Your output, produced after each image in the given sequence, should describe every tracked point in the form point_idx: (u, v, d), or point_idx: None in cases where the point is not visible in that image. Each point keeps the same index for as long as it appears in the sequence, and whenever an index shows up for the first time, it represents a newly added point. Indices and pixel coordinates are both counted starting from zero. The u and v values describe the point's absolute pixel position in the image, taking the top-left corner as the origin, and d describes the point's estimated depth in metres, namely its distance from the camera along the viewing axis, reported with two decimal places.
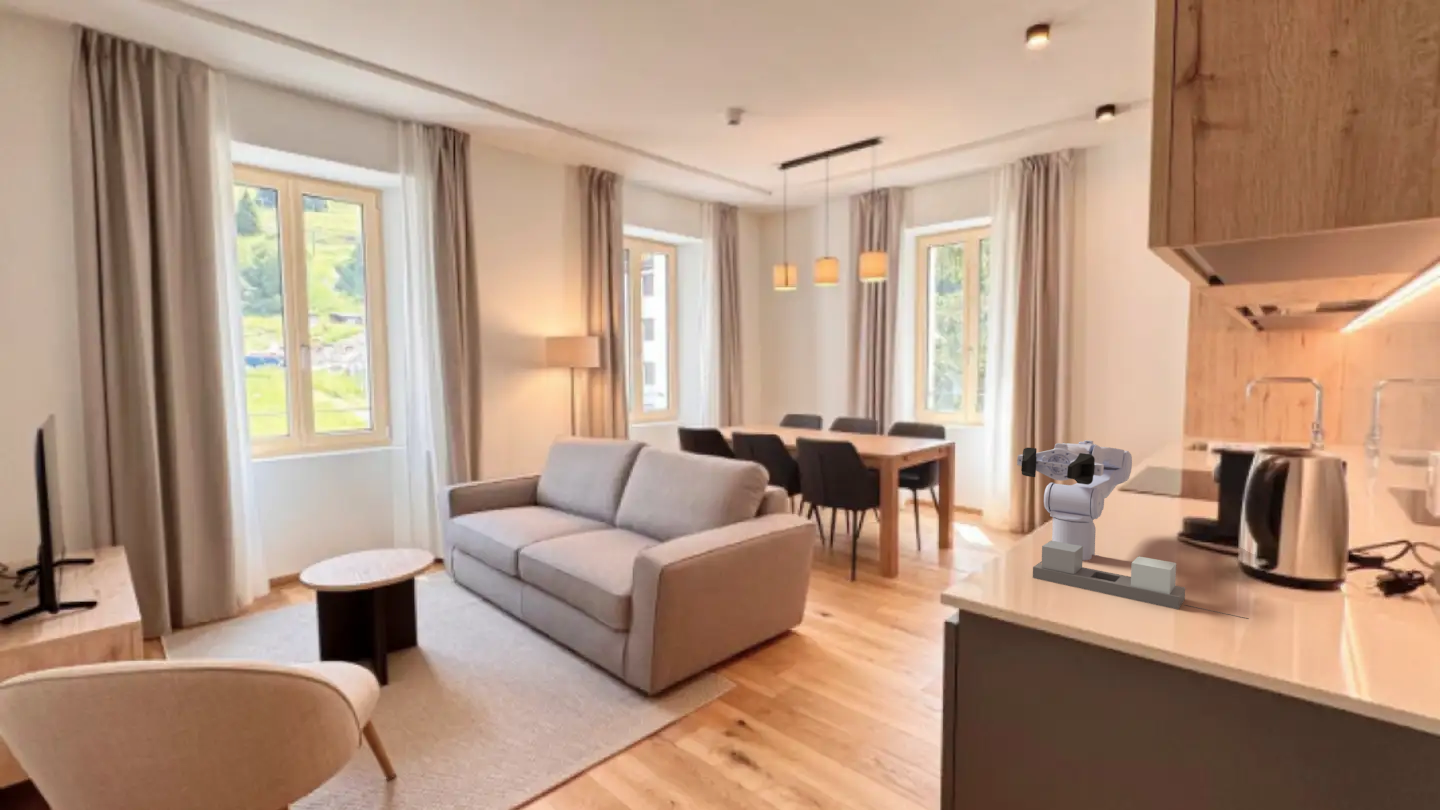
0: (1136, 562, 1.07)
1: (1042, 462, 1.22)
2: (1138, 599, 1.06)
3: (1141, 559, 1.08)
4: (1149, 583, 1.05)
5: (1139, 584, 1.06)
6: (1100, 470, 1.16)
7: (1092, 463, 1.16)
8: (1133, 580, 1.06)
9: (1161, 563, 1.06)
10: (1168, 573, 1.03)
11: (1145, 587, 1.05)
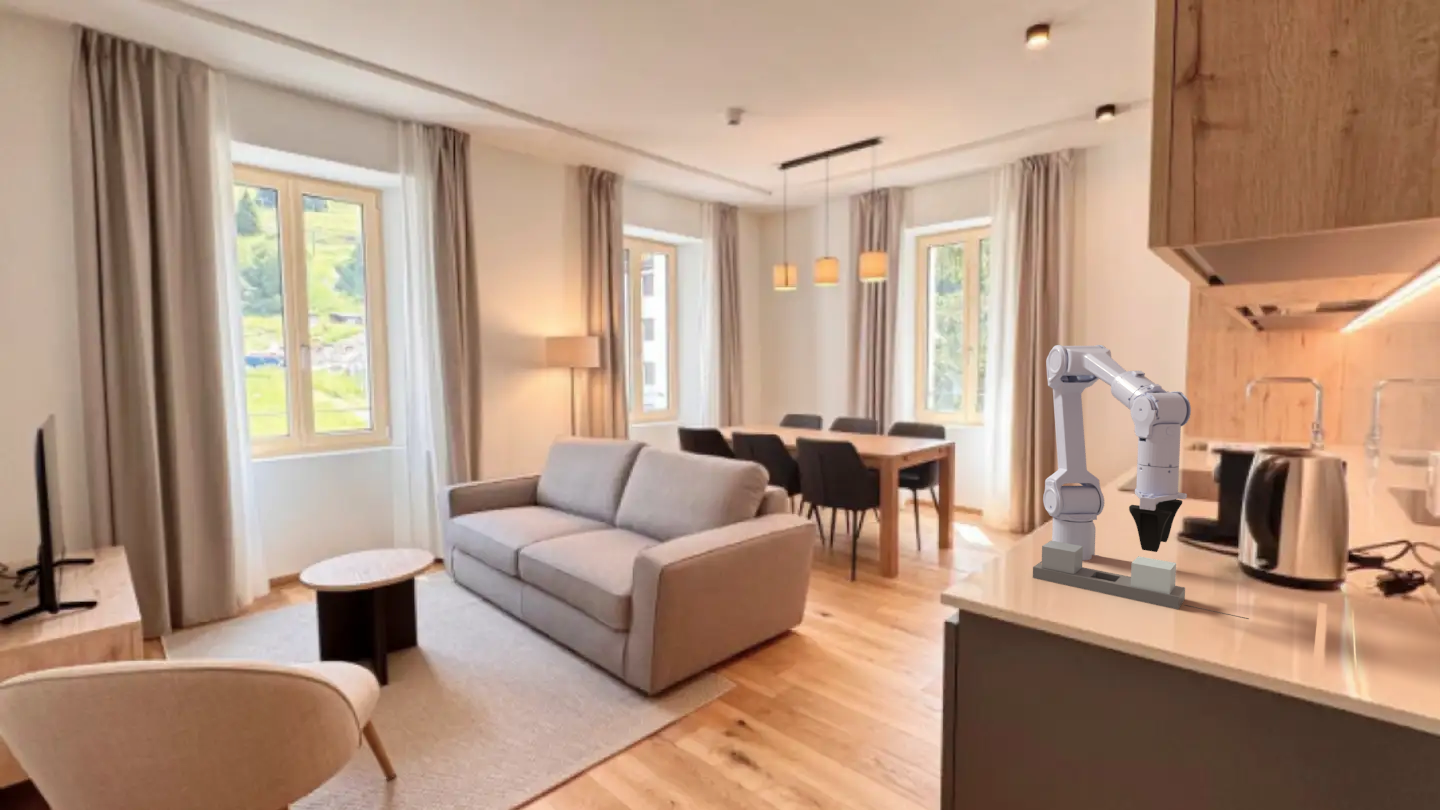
0: (1136, 562, 1.07)
1: None
2: (1138, 599, 1.06)
3: (1141, 559, 1.08)
4: (1149, 583, 1.05)
5: (1139, 584, 1.06)
6: None
7: None
8: (1133, 580, 1.06)
9: (1161, 563, 1.06)
10: (1168, 573, 1.03)
11: (1145, 587, 1.05)
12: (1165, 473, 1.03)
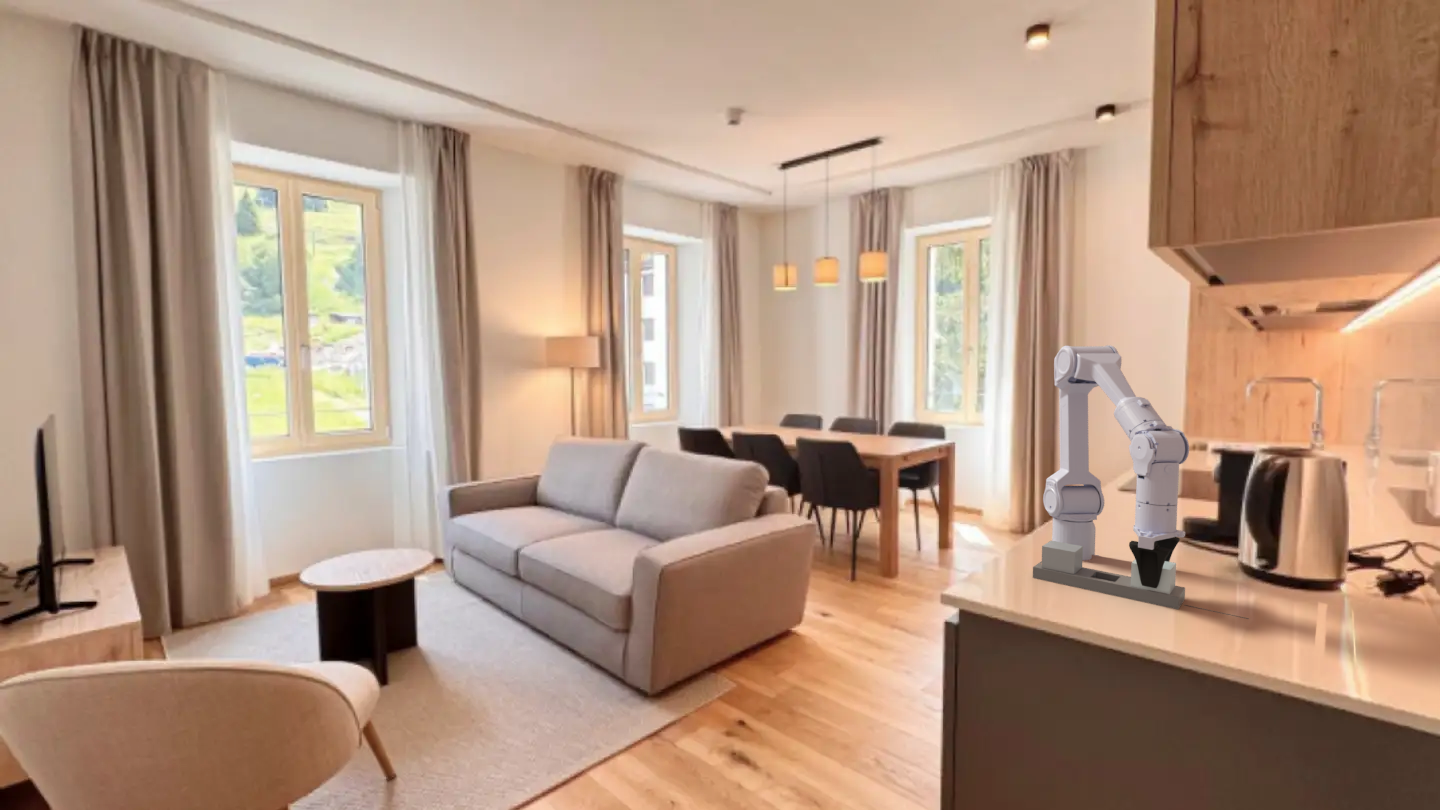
0: (1136, 562, 1.07)
1: None
2: (1138, 599, 1.06)
3: None
4: None
5: (1139, 584, 1.06)
6: None
7: None
8: (1133, 580, 1.06)
9: None
10: (1168, 573, 1.03)
11: (1145, 587, 1.05)
12: (1163, 511, 1.03)
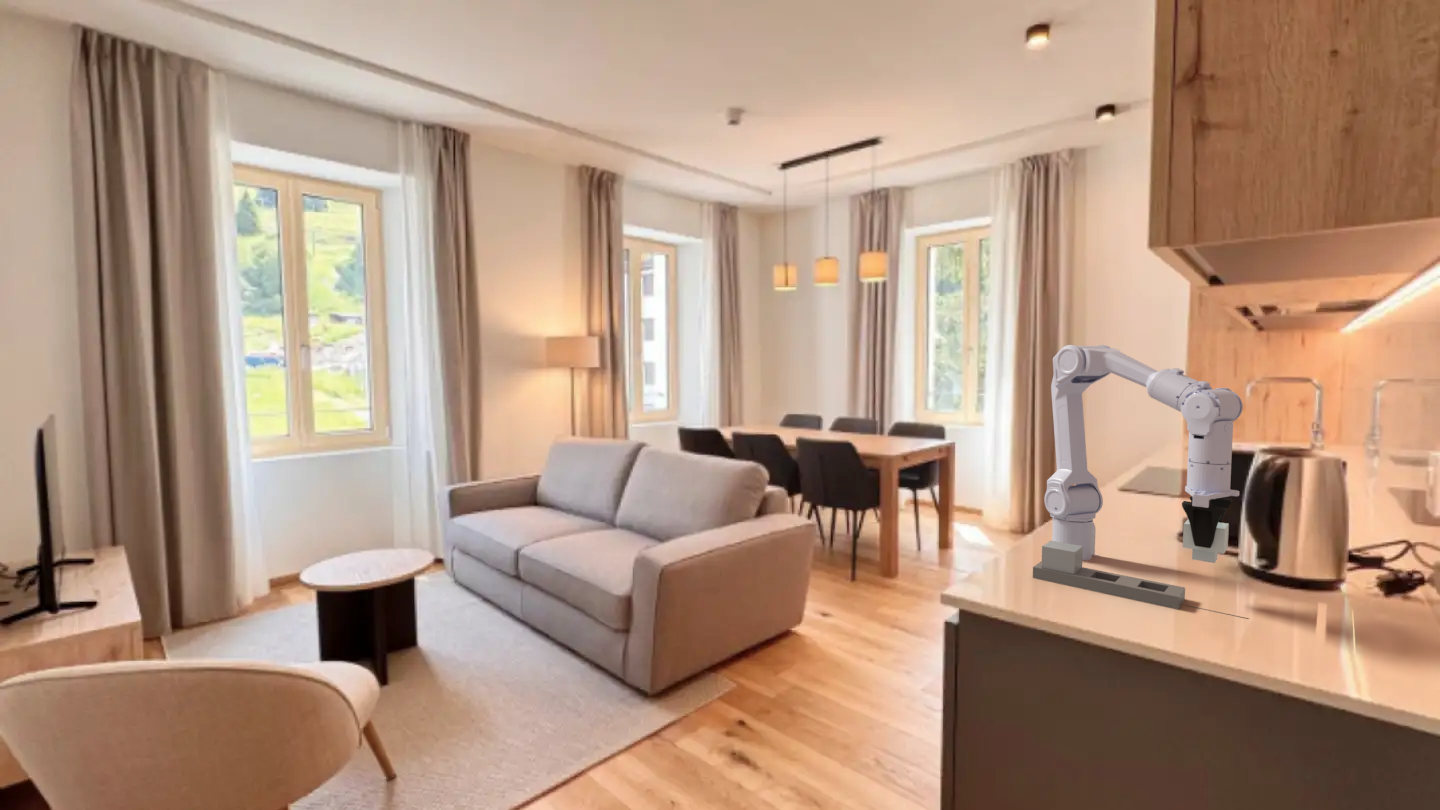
0: (1188, 523, 1.06)
1: None
2: (1138, 599, 1.06)
3: None
4: None
5: (1192, 545, 1.05)
6: None
7: None
8: (1185, 541, 1.06)
9: None
10: (1223, 532, 1.02)
11: (1198, 547, 1.04)
12: (1218, 470, 1.02)
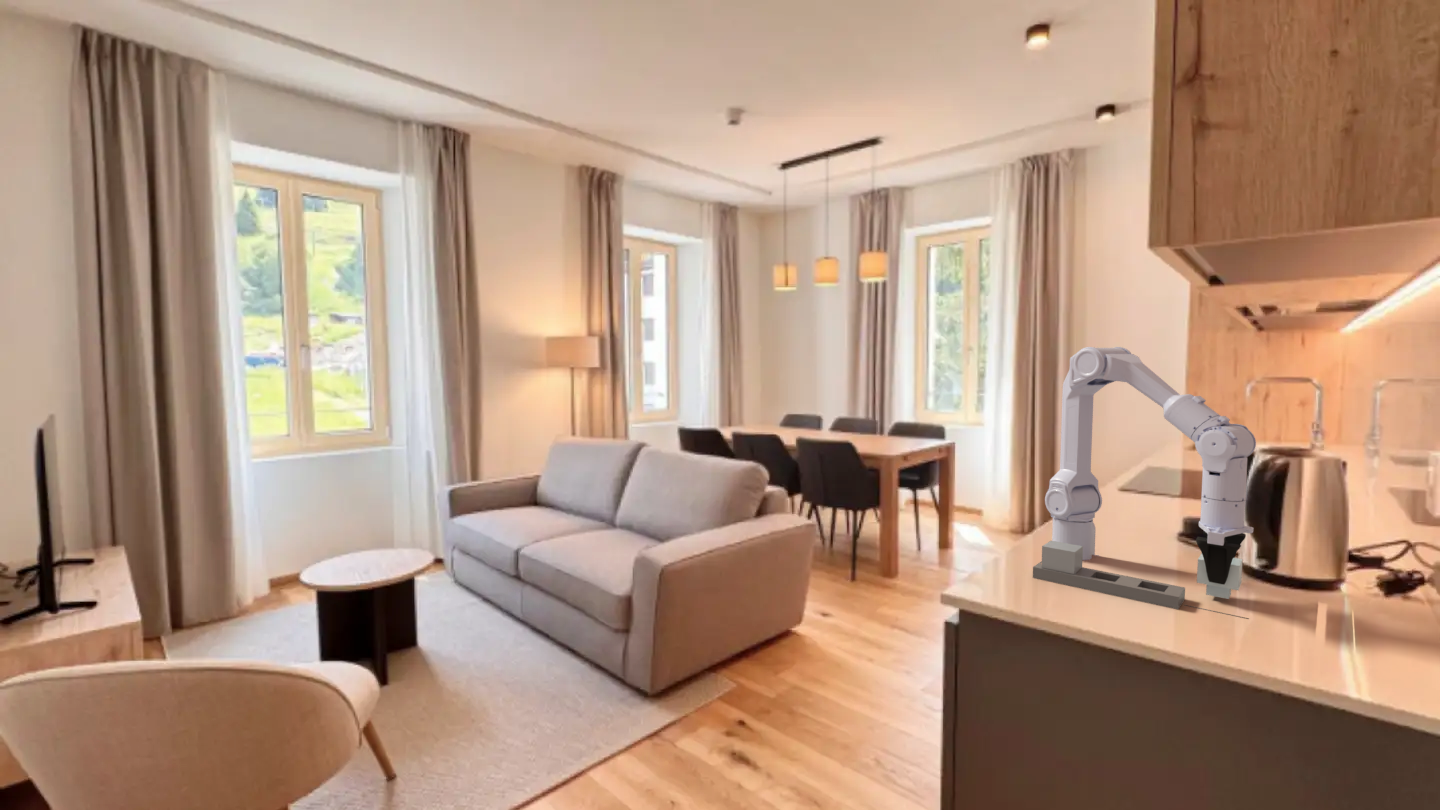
0: (1202, 558, 1.06)
1: None
2: (1138, 599, 1.06)
3: None
4: None
5: (1206, 581, 1.05)
6: None
7: None
8: (1199, 576, 1.06)
9: None
10: (1237, 569, 1.02)
11: (1212, 583, 1.05)
12: (1232, 507, 1.02)
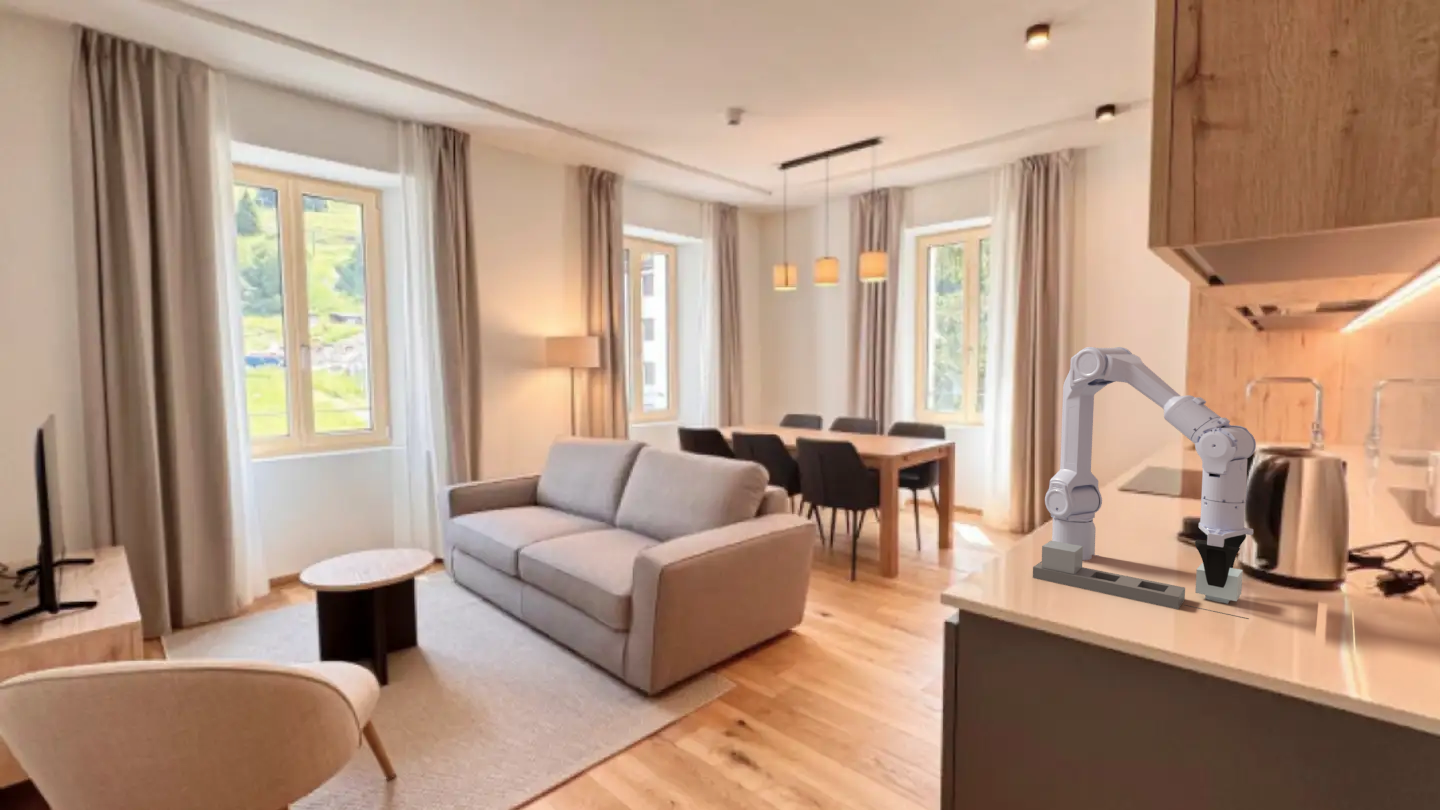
0: (1201, 568, 1.06)
1: None
2: (1138, 599, 1.06)
3: None
4: (1215, 590, 1.04)
5: (1205, 591, 1.06)
6: None
7: None
8: (1198, 587, 1.06)
9: None
10: (1236, 580, 1.02)
11: (1211, 594, 1.05)
12: (1232, 509, 1.02)
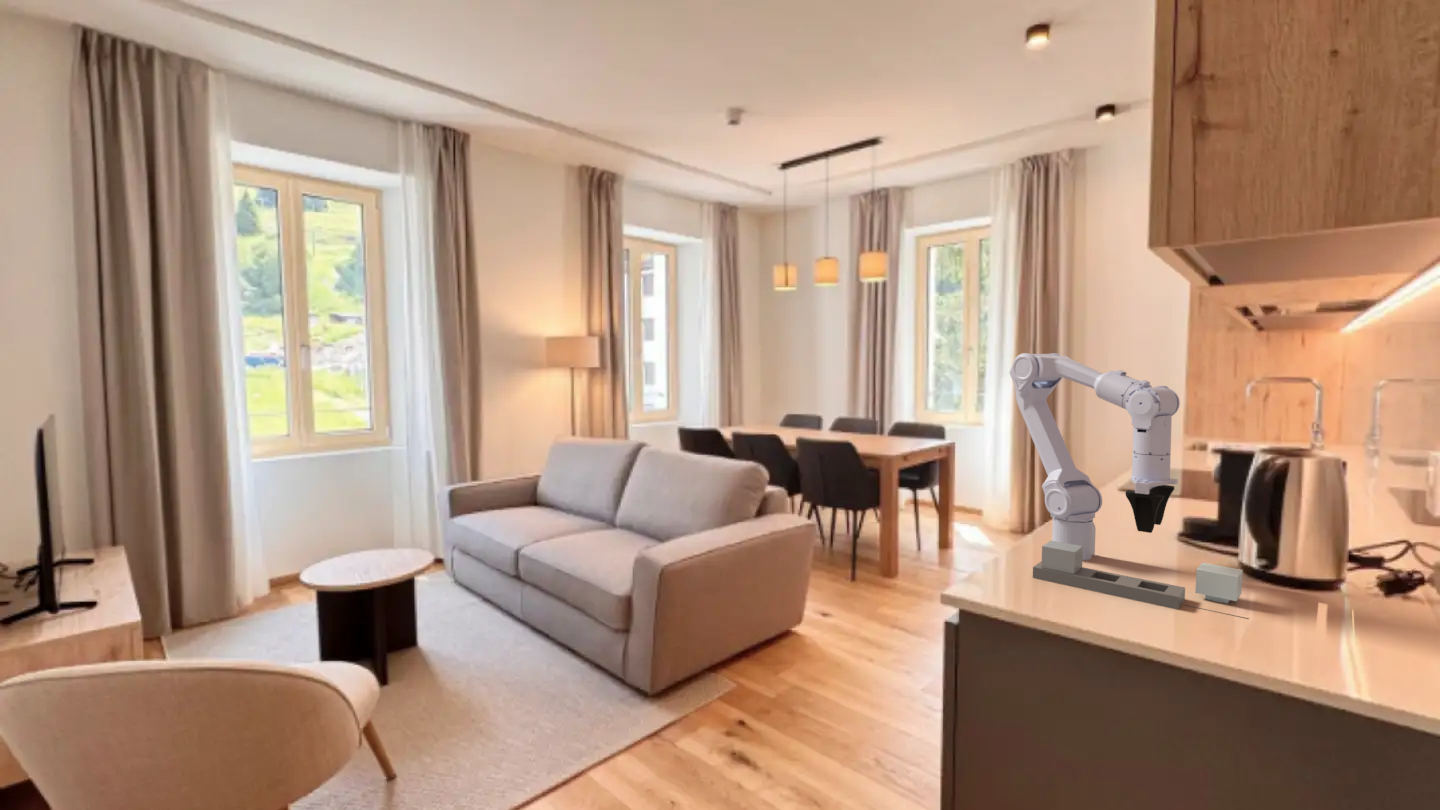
0: (1201, 568, 1.06)
1: None
2: (1138, 599, 1.06)
3: (1206, 566, 1.08)
4: (1215, 590, 1.04)
5: (1205, 591, 1.06)
6: None
7: None
8: (1198, 587, 1.06)
9: (1227, 570, 1.06)
10: (1236, 580, 1.02)
11: (1211, 594, 1.05)
12: (1158, 460, 1.12)
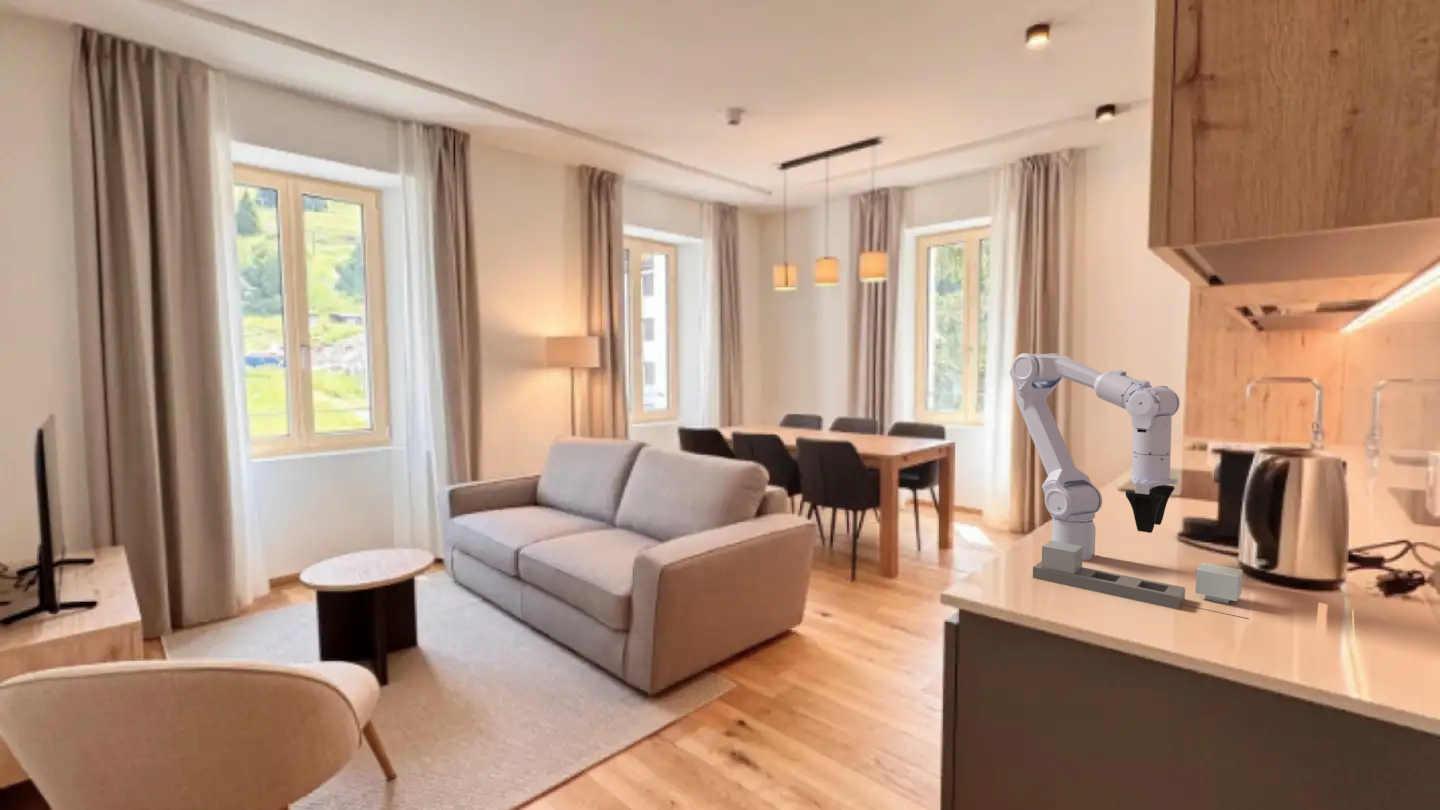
0: (1201, 568, 1.06)
1: None
2: (1138, 599, 1.06)
3: (1206, 565, 1.08)
4: (1215, 590, 1.04)
5: (1204, 591, 1.06)
6: None
7: None
8: (1198, 587, 1.06)
9: (1227, 570, 1.06)
10: (1236, 580, 1.02)
11: (1211, 594, 1.05)
12: (1158, 460, 1.12)
